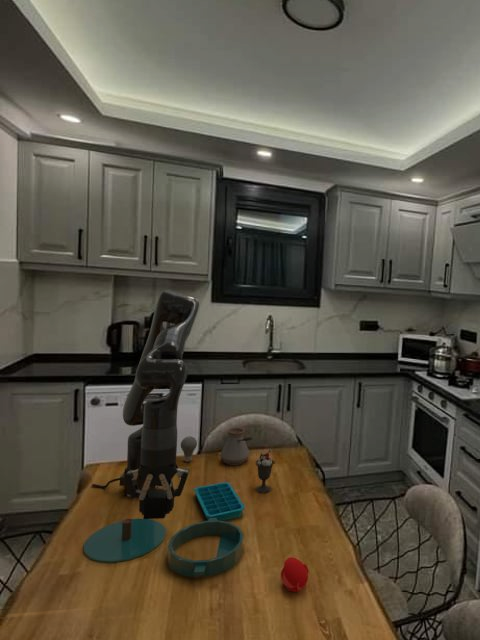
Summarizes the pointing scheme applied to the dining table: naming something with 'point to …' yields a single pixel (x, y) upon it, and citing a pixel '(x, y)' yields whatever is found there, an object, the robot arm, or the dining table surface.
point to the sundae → (264, 471)
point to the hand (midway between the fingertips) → (156, 512)
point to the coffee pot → (235, 447)
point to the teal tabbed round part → (226, 551)
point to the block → (155, 504)
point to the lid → (124, 540)
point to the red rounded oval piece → (294, 574)
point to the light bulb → (188, 447)
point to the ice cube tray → (219, 501)
